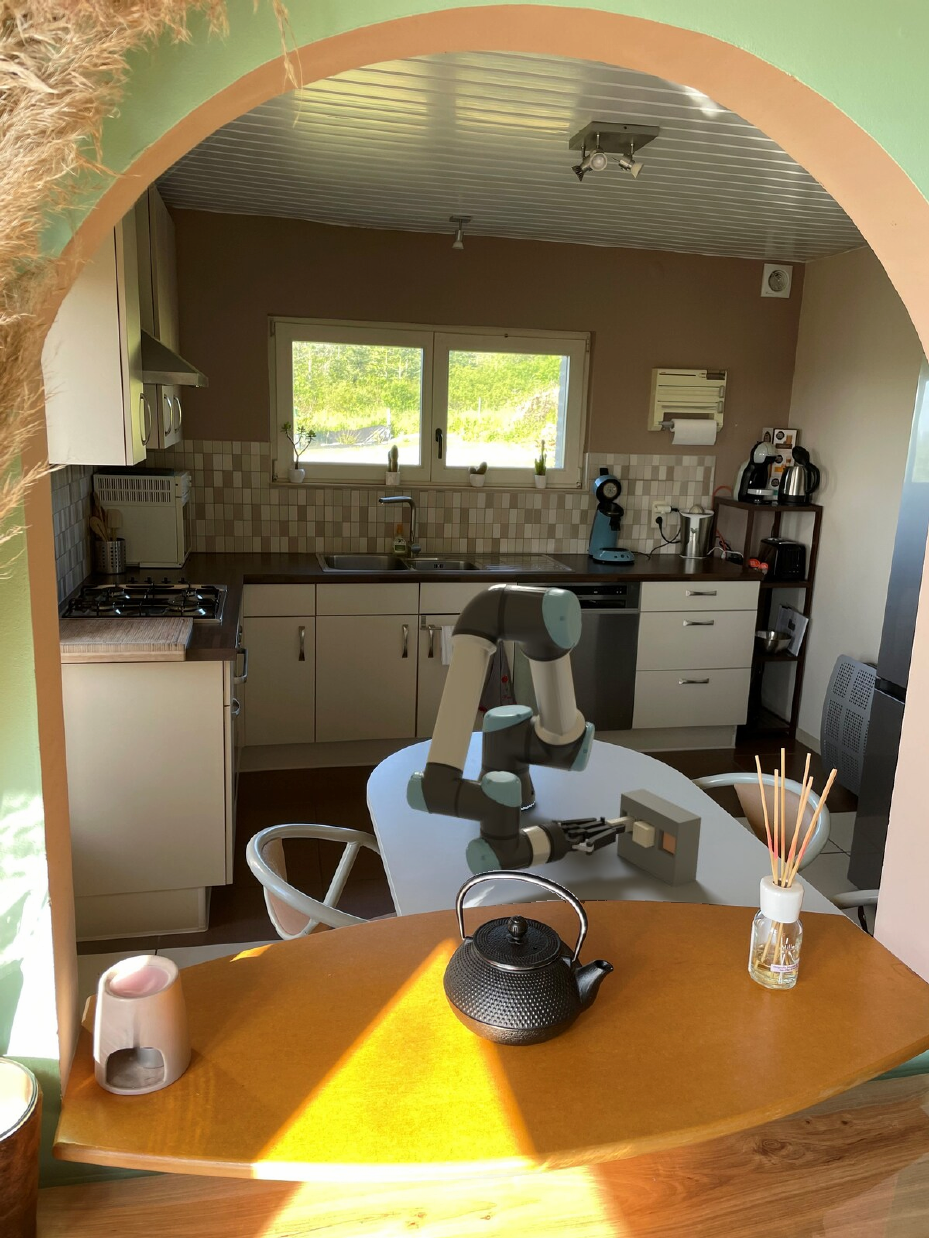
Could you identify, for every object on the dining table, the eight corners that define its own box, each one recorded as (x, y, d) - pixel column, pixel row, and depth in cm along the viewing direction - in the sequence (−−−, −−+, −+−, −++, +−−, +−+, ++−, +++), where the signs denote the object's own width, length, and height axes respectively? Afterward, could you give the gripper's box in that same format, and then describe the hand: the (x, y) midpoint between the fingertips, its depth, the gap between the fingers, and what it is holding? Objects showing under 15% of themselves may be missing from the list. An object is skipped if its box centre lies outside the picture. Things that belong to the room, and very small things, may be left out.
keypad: (616, 855, 197) (621, 793, 195) (638, 849, 201) (642, 788, 198) (673, 889, 183) (679, 823, 181) (695, 882, 186) (701, 817, 184)
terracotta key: (662, 847, 187) (664, 829, 186) (677, 843, 189) (678, 826, 188) (676, 855, 183) (678, 837, 183) (691, 851, 185) (693, 833, 185)
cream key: (632, 840, 190) (633, 822, 189) (647, 836, 192) (648, 818, 191) (645, 847, 186) (647, 829, 186) (660, 843, 188) (661, 826, 188)
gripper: (520, 849, 188) (611, 827, 200) (559, 876, 177) (652, 851, 189) (522, 814, 186) (613, 794, 199) (561, 839, 176) (655, 816, 188)
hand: (632, 822), depth 194 cm, fingers closed
